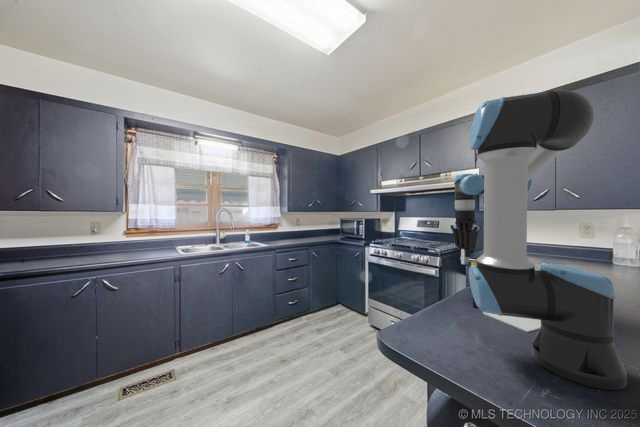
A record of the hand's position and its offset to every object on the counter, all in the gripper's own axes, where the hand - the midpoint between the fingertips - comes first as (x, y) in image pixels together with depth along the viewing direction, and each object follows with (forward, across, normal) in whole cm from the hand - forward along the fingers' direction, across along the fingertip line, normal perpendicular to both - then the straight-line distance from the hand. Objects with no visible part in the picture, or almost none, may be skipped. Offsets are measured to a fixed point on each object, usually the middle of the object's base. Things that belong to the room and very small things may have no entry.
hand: (465, 263), depth 103 cm
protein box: (+14, -10, 0) cm, 17 cm away
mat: (+14, -23, +1) cm, 27 cm away
